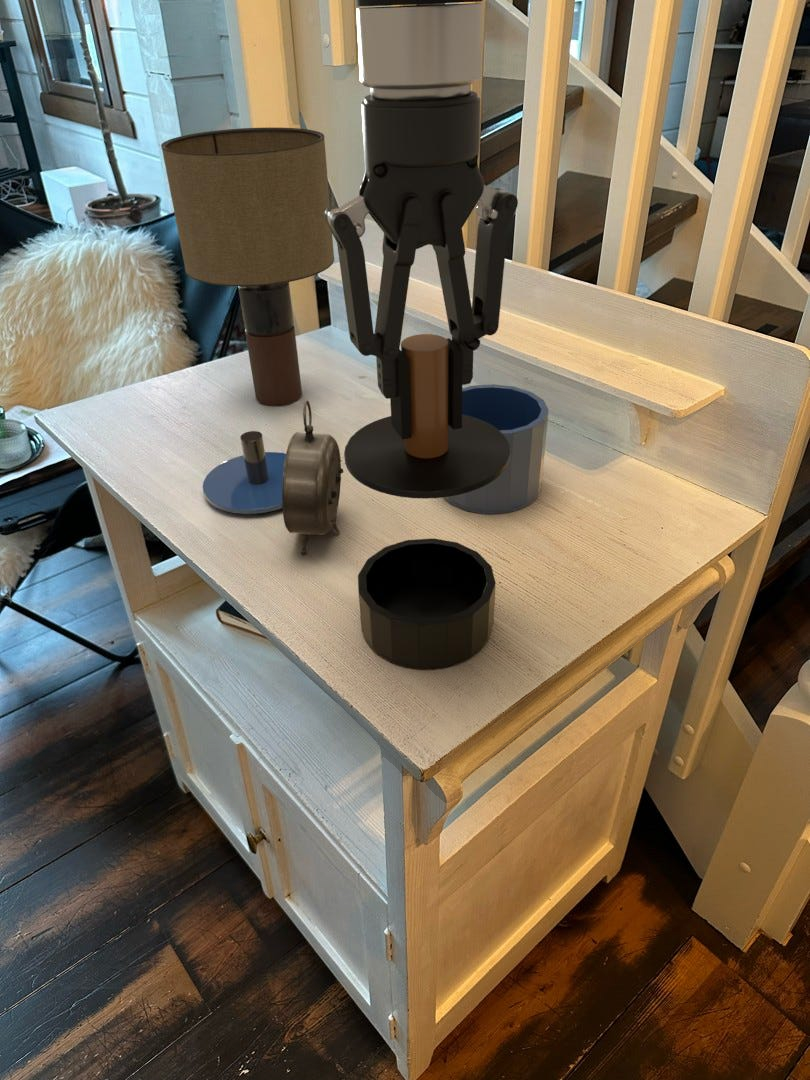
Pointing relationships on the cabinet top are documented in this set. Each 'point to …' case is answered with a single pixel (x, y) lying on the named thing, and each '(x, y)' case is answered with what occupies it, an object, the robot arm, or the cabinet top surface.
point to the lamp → (255, 232)
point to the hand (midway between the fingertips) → (426, 425)
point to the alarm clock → (311, 482)
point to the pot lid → (247, 479)
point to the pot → (526, 436)
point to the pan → (426, 603)
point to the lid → (427, 437)
